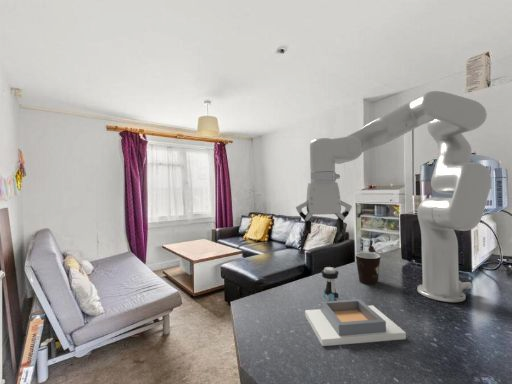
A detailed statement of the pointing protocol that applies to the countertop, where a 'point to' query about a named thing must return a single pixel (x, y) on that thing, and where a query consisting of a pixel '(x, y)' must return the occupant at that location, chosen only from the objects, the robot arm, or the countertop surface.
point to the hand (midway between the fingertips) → (324, 232)
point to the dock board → (351, 323)
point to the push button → (330, 283)
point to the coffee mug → (368, 267)
